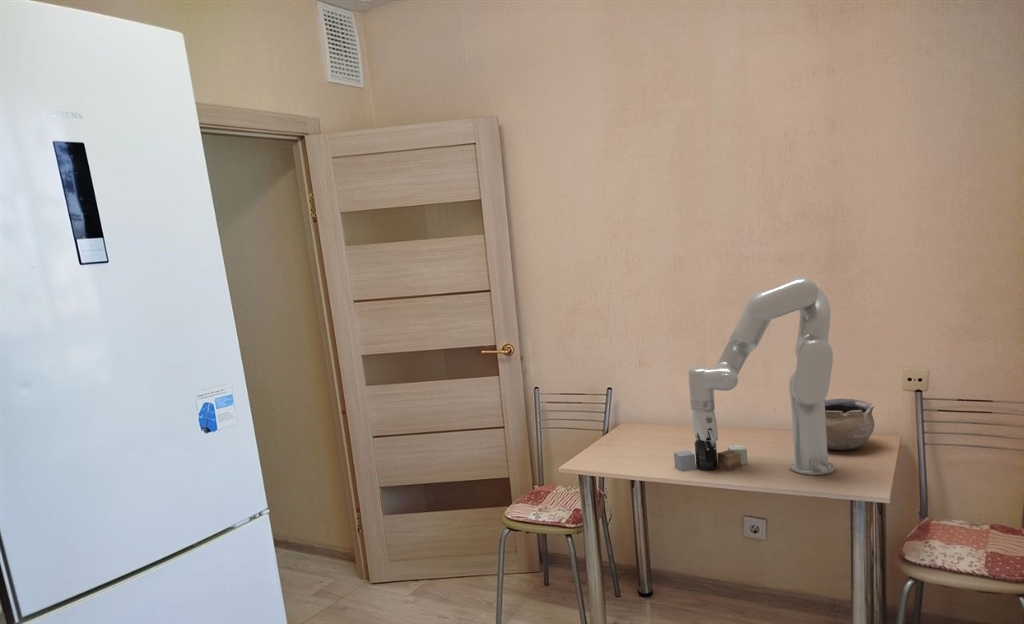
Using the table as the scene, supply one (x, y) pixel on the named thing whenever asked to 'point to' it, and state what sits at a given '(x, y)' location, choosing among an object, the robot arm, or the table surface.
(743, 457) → the sage cube
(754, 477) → the table surface
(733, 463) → the walnut cube
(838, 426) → the ceramic bowl
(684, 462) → the slate cube
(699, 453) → the supplement bottle
